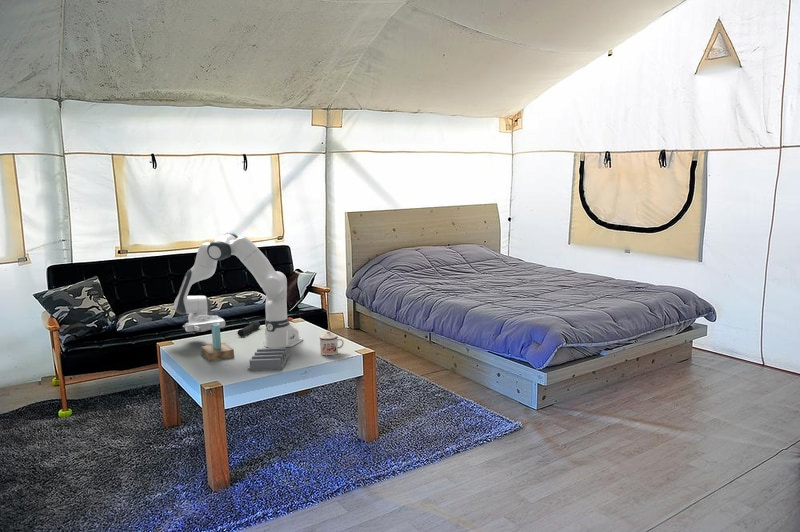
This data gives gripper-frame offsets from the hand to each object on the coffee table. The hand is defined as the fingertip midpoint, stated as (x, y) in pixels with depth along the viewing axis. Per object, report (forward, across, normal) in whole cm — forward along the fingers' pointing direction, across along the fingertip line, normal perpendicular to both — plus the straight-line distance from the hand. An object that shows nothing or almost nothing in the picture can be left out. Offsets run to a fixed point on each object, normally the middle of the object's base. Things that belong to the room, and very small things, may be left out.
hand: (208, 328), depth 304 cm
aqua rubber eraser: (+12, 0, +8) cm, 15 cm away
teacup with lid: (+44, +49, +11) cm, 67 cm away
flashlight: (-24, +29, +12) cm, 39 cm away
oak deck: (+12, 0, +12) cm, 17 cm away
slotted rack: (+41, +17, +11) cm, 46 cm away
